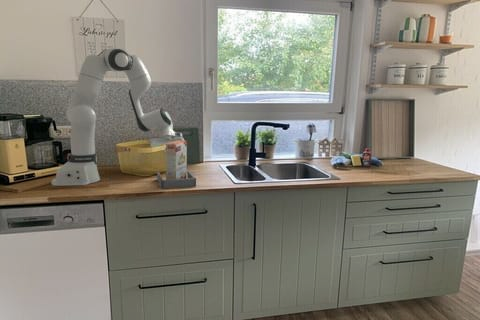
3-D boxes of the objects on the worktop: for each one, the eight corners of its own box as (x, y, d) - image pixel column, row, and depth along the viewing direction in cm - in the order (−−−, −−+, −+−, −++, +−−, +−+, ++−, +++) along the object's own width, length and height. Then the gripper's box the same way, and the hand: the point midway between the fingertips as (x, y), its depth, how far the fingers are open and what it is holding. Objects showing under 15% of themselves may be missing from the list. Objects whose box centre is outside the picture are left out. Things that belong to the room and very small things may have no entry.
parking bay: (161, 188, 166) (161, 180, 165) (157, 179, 181) (157, 172, 181) (196, 186, 172) (196, 178, 171) (189, 177, 187) (189, 170, 186)
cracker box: (176, 185, 172) (176, 144, 167) (165, 184, 173) (164, 143, 169) (187, 178, 185) (187, 140, 181) (177, 177, 186) (176, 139, 182)
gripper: (148, 134, 195) (150, 154, 188) (184, 133, 202) (187, 153, 195) (148, 140, 200) (150, 160, 193) (183, 140, 207) (186, 159, 200)
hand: (169, 156), depth 194 cm, fingers closed
